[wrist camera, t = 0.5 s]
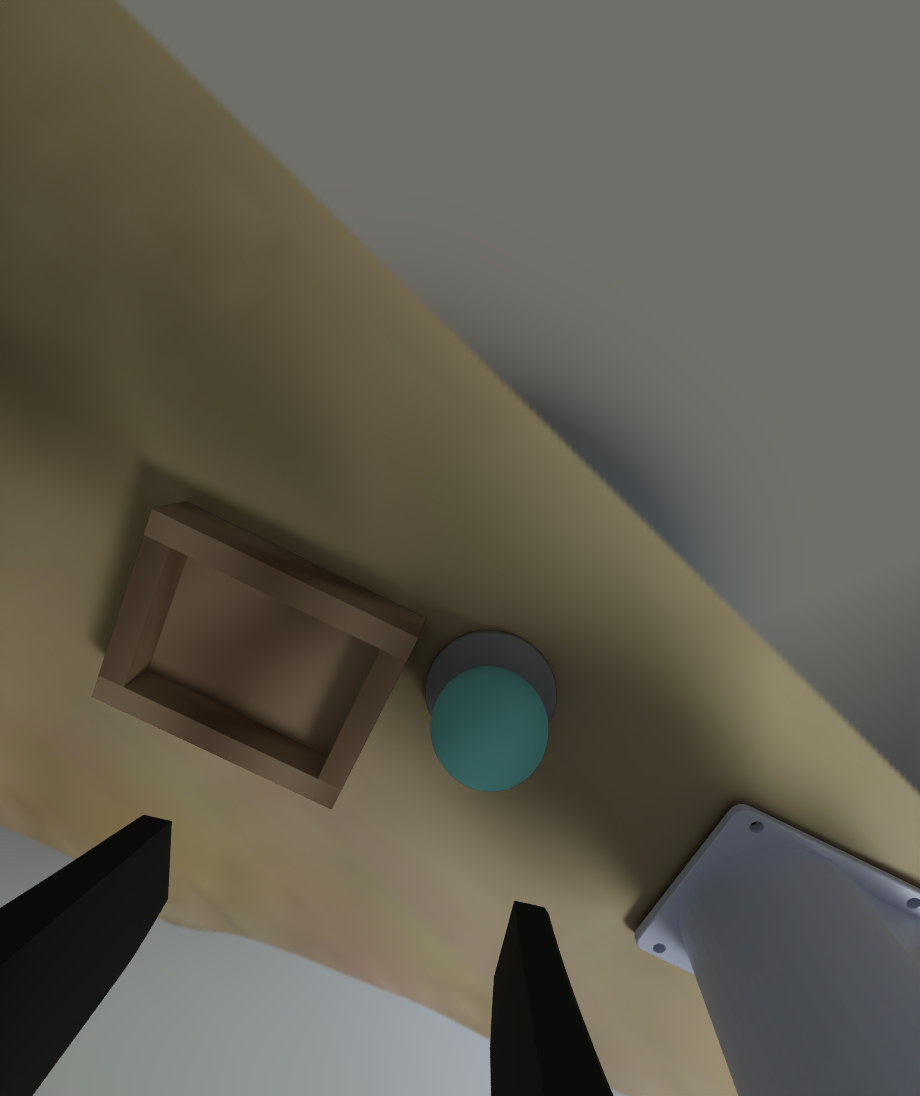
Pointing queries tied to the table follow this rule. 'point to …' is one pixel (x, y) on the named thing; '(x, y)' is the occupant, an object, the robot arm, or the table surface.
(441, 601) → the table surface
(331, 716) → the tray
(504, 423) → the table surface
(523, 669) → the coaster
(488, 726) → the ball
